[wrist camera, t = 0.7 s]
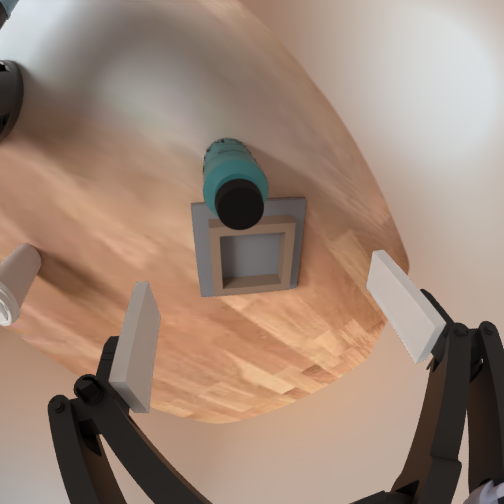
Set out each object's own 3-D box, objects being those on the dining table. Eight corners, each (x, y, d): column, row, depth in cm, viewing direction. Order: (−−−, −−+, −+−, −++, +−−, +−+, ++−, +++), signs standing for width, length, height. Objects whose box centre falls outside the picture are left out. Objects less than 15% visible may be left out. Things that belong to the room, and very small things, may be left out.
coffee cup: (49, 281, 44) (20, 335, 32) (14, 270, 42) (-18, 319, 29) (46, 241, 40) (8, 294, 28) (9, 231, 37) (-32, 277, 25)
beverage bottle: (252, 171, 41) (288, 234, 24) (209, 182, 40) (213, 254, 24) (242, 130, 37) (275, 162, 20) (197, 142, 37) (190, 184, 20)
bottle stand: (191, 203, 42) (190, 213, 38) (304, 197, 44) (312, 207, 41) (201, 293, 51) (201, 308, 48) (294, 285, 54) (300, 298, 50)
